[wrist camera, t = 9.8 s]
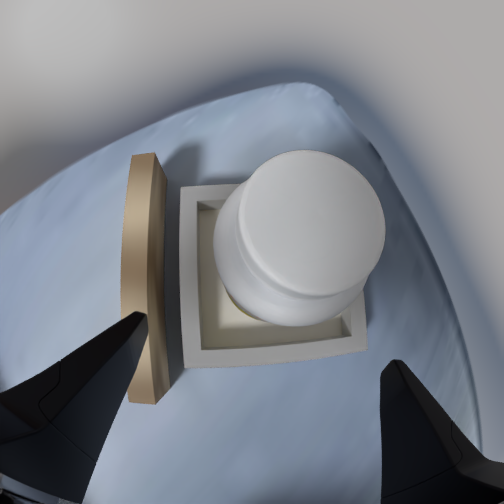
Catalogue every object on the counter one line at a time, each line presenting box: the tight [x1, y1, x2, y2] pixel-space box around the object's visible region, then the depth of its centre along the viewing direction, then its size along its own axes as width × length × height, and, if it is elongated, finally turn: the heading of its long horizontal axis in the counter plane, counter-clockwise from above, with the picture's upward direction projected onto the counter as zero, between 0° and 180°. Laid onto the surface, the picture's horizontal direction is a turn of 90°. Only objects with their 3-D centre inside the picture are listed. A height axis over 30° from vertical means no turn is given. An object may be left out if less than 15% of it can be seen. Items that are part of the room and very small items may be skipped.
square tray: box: [179, 184, 368, 368], centre depth 16 cm, size 10×10×2 cm
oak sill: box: [121, 152, 170, 405], centre depth 15 cm, size 14×2×4 cm, turn 4°
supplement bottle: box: [213, 150, 386, 327], centre depth 11 cm, size 6×6×10 cm
